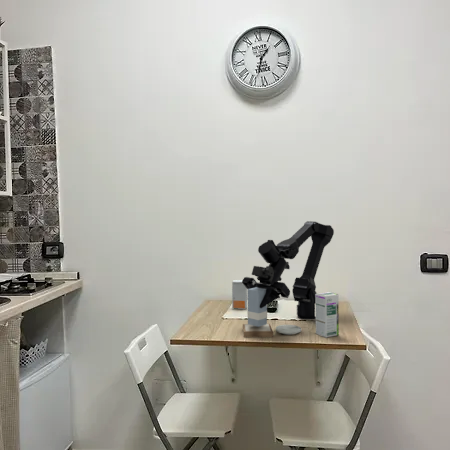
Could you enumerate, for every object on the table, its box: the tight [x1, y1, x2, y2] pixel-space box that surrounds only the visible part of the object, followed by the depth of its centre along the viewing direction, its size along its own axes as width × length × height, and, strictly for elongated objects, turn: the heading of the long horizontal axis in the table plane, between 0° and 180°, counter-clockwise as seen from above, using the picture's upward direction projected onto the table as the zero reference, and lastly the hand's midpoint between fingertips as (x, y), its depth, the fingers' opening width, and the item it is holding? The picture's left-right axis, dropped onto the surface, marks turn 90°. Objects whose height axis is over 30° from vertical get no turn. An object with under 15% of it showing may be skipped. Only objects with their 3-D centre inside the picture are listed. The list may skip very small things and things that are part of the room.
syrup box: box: [315, 291, 340, 338], centre depth 167 cm, size 6×6×14 cm
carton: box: [247, 287, 268, 327], centre depth 170 cm, size 5×5×12 cm
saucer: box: [275, 324, 302, 335], centre depth 170 cm, size 9×9×2 cm
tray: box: [242, 323, 274, 338], centre depth 170 cm, size 10×10×2 cm
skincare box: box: [231, 279, 248, 310], centre depth 207 cm, size 6×4×12 cm
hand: (254, 306), depth 169 cm, fingers closed on carton, 5 cm apart
